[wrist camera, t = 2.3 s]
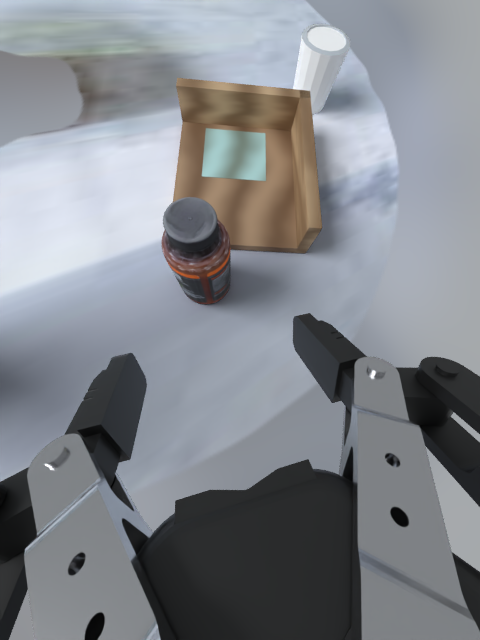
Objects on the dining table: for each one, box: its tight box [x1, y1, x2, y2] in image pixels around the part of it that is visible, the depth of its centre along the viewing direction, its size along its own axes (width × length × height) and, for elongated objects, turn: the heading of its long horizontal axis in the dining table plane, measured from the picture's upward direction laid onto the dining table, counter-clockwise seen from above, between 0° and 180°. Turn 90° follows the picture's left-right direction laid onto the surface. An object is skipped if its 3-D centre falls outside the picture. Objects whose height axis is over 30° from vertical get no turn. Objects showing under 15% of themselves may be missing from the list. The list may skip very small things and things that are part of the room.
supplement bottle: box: [162, 197, 230, 304], centre depth 20 cm, size 6×6×11 cm
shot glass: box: [293, 24, 350, 114], centre depth 32 cm, size 7×7×7 cm
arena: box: [173, 78, 322, 253], centre depth 27 cm, size 18×22×5 cm
